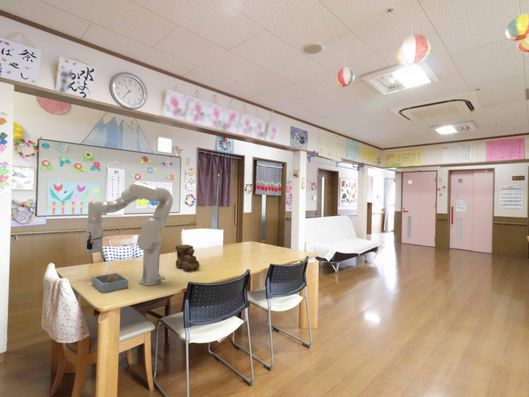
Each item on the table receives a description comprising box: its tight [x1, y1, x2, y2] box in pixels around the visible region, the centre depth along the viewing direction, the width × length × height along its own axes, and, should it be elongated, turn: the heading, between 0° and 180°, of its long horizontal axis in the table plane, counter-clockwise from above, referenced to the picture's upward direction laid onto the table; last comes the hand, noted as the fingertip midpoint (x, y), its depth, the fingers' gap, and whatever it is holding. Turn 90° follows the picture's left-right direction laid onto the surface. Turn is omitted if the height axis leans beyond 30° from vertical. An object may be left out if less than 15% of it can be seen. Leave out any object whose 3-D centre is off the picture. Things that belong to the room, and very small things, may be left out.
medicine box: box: [85, 238, 103, 254], centre depth 176 cm, size 8×4×9 cm, turn 138°
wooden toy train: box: [175, 244, 200, 272], centre depth 209 cm, size 20×11×17 cm, turn 46°
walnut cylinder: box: [108, 273, 118, 283], centre depth 160 cm, size 5×5×7 cm
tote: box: [91, 272, 129, 294], centre depth 163 cm, size 18×14×5 cm
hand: (94, 247), depth 176 cm, fingers closed on medicine box, 8 cm apart
